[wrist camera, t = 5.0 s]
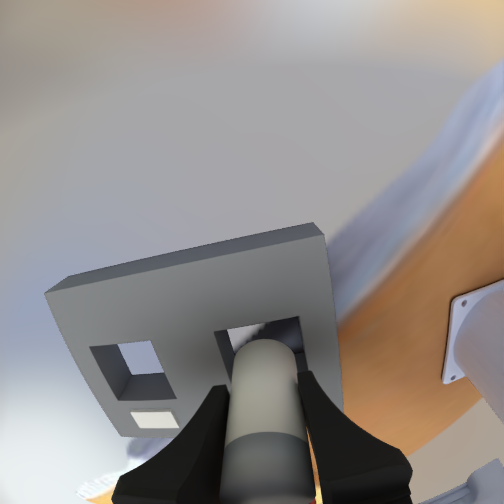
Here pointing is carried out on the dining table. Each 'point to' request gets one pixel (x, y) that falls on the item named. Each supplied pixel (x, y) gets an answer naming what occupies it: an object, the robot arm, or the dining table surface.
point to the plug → (266, 430)
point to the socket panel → (195, 322)
